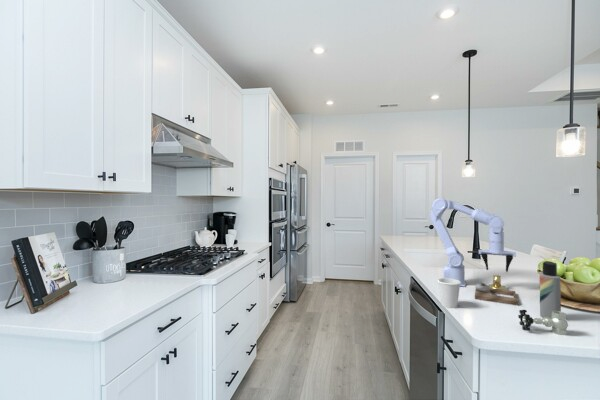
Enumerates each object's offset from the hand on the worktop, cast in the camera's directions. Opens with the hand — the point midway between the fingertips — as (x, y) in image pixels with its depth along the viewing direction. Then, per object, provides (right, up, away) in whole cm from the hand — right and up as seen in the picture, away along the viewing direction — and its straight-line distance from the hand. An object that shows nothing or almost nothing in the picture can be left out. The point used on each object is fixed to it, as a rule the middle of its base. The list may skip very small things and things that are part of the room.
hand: (496, 270), depth 138 cm
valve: (-14, -9, -44) cm, 47 cm away
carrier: (-8, -9, -10) cm, 16 cm away
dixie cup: (-33, -10, -20) cm, 40 cm away
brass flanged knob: (0, -9, 0) cm, 9 cm away
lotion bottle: (-3, -9, -33) cm, 35 cm away
